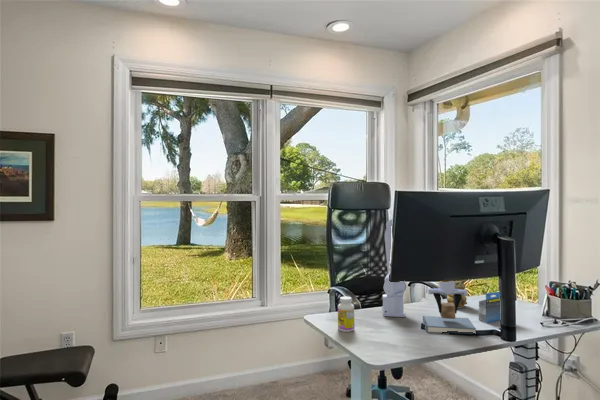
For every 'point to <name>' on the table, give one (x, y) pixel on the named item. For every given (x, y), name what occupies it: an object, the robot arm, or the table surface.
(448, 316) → the walnut block
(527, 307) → the table surface
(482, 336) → the table surface
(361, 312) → the table surface
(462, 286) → the decorative figurine
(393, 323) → the table surface
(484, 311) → the label tape box
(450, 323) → the book
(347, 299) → the supplement bottle
